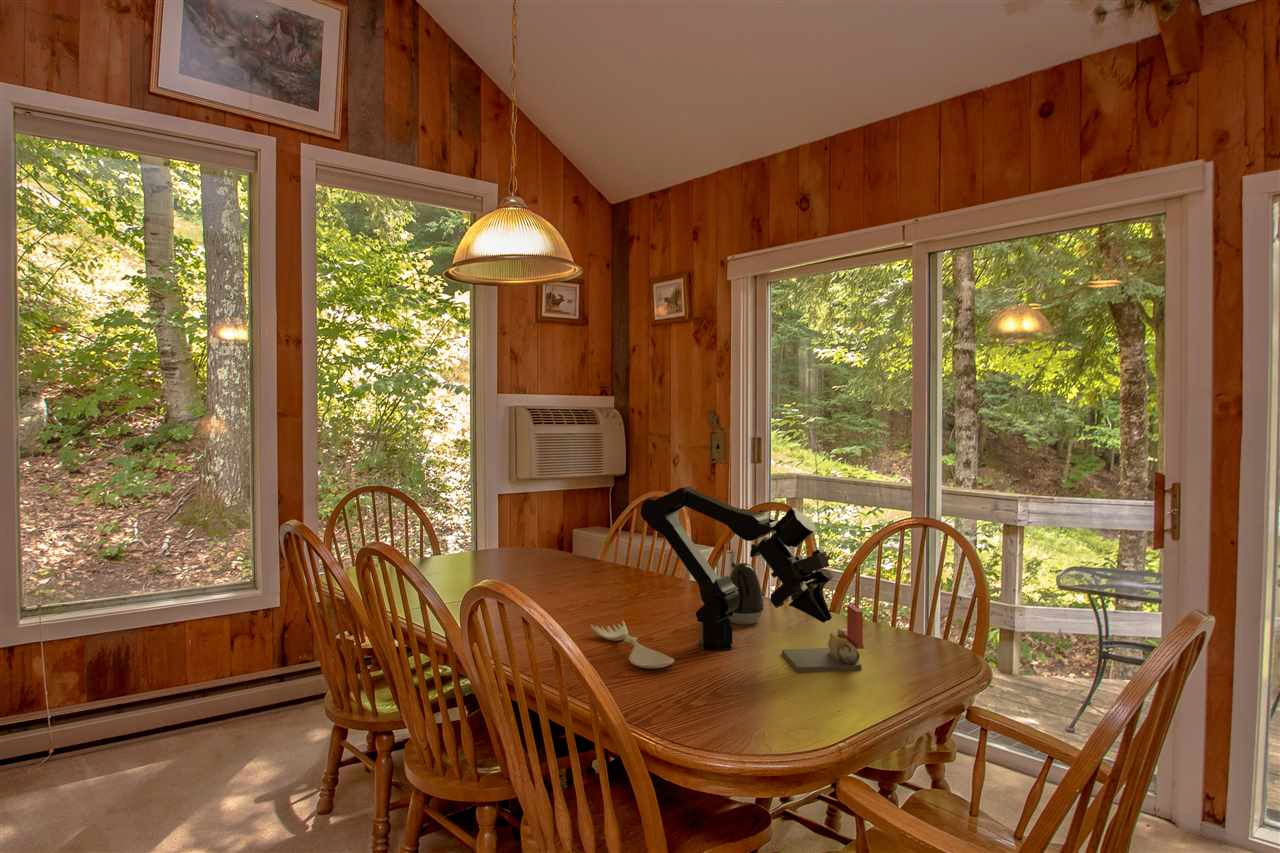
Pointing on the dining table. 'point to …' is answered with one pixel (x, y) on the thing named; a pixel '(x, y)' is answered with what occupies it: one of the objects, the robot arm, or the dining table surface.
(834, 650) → the ball valve
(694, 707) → the dining table surface
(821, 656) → the mounting board
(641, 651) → the white double-ended utensil part
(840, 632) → the valve lever
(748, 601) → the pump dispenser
